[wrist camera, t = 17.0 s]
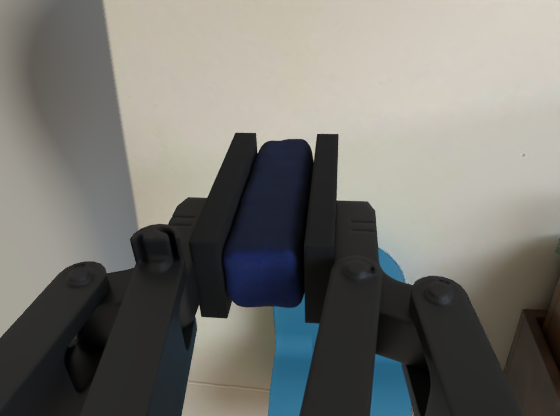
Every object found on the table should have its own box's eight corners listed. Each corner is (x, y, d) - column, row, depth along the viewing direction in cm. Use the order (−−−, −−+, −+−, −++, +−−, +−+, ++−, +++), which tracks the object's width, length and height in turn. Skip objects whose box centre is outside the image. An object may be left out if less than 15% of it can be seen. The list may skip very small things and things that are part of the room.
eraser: (317, 187, 19) (306, 315, 14) (260, 188, 20) (226, 312, 14) (315, 137, 18) (302, 253, 12) (255, 138, 18) (216, 252, 13)
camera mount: (395, 388, 47) (405, 503, 39) (286, 382, 49) (273, 492, 40) (410, 238, 38) (429, 348, 29) (273, 236, 39) (252, 340, 30)
